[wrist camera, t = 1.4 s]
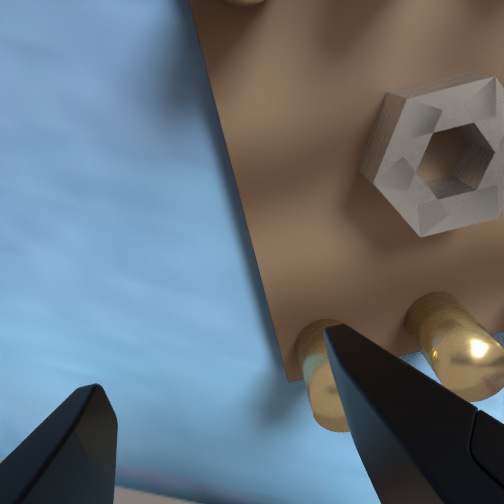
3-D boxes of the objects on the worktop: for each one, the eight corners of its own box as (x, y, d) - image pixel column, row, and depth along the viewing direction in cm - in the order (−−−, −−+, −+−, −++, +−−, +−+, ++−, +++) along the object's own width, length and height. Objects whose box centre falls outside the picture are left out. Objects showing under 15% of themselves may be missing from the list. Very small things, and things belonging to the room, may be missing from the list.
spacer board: (700, 271, 22) (716, 279, 22) (286, 371, 23) (288, 382, 22) (796, -251, 15) (827, -266, 14) (168, -80, 15) (166, -86, 15)
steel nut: (506, 192, 19) (537, 208, 17) (365, 227, 19) (381, 247, 18) (505, 61, 17) (540, 64, 15) (347, 102, 17) (362, 110, 15)
